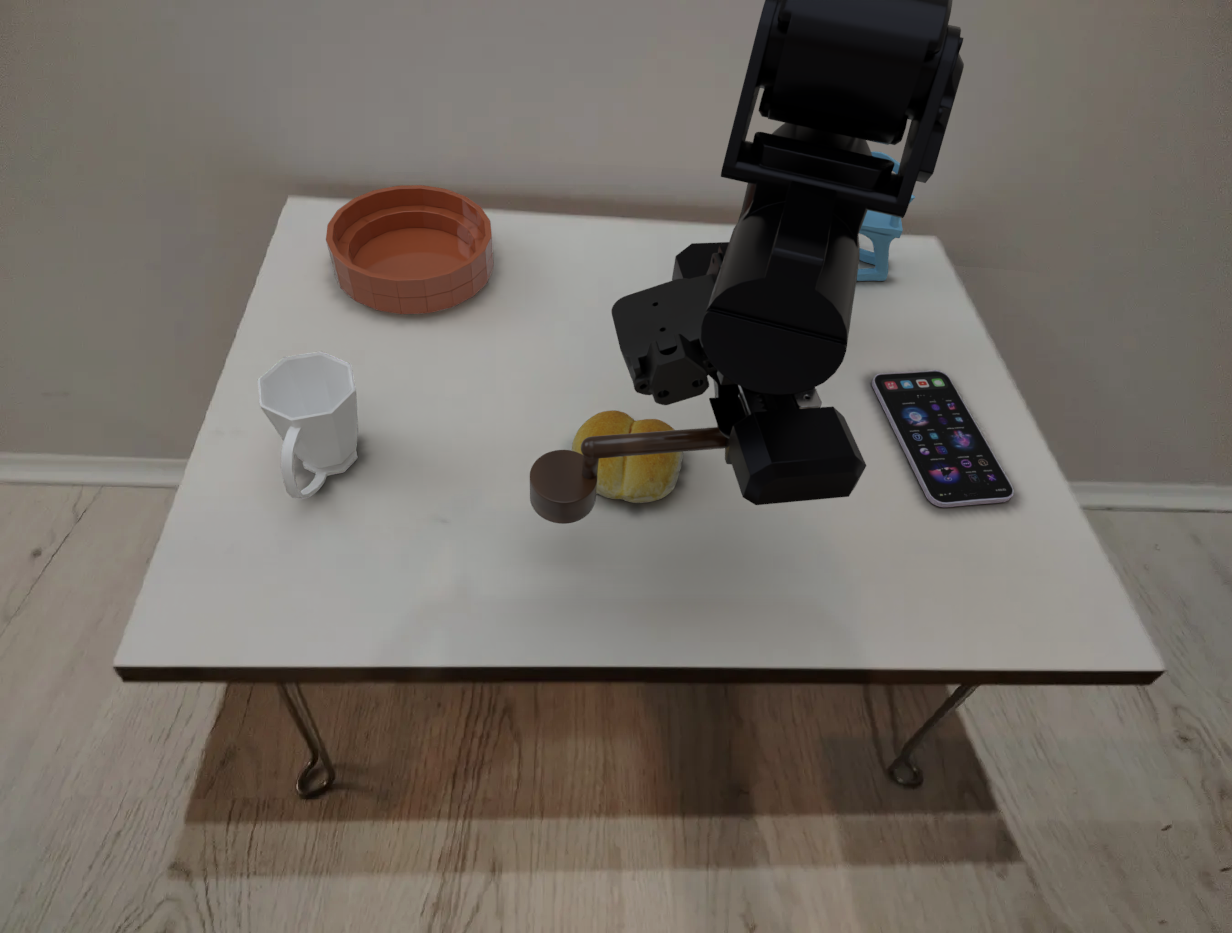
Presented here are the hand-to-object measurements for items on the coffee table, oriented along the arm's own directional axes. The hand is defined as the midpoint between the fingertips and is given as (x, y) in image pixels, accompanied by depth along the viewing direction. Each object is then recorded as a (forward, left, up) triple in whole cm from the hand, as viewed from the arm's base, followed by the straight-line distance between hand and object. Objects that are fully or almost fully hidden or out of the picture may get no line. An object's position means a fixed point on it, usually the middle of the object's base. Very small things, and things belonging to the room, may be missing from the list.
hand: (729, 451), depth 51 cm
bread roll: (+5, -8, -11) cm, 14 cm away
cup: (+28, -10, -11) cm, 32 cm away
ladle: (+4, 0, -3) cm, 5 cm away
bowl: (+21, -35, -11) cm, 42 cm away
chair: (-24, -33, -11) cm, 42 cm away
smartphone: (-23, -8, -11) cm, 27 cm away
